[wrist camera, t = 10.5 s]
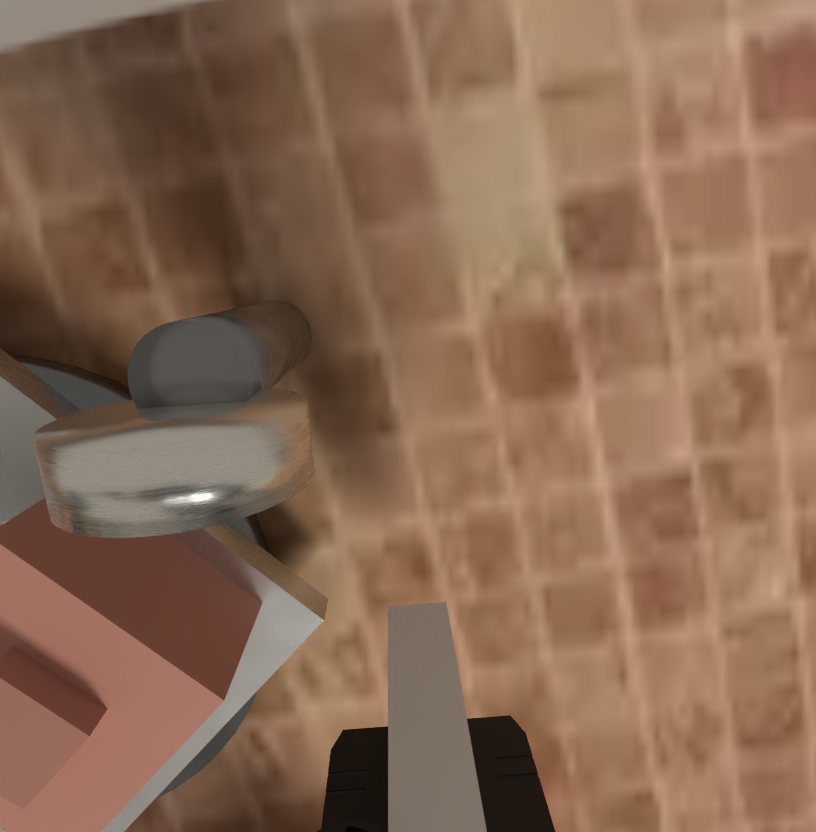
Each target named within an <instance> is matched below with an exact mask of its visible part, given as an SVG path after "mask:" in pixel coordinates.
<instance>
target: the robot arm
mask: <svg viewBox="0 0 816 832" xmlns="http://www.w3.org/2000/svg"><path fill="white" fill-rule="evenodd" d="M317 832H555V829H554V826H553V823H552V819H551V816H550V813H549V809H548V806H547V803H546V799H545V796H544V793H543V789H542V786H541V783H540V779H539V777H538V773H537V769H536V766H535V763H534V759H533V758H532V753H531V749H530V746H529V743H528V739H527V736H526V733H525V732H524V731H523V730H522V729H521V727H520V726H519V725H518V724H517V723H516V722H515V720H514V719H513V718H512V717H511V716H498V717H485V718H472V719H467V717H466V711H465V706H464V700H463V694H462V689H461V683H460V677H459V672H458V666H457V661H456V655H455V649H454V644H453V638H452V632H451V627H450V621H449V615H448V610H447V604H446V602H440V603H426V604H412V605H398V606H388V727H375V728H362V729H349V730H343V731H342V733H341V734H340V736H339V738H338V739H337V741H336V743H335V744H334V746H333V747H332V749H331V754H330V762H329V770H328V779H327V787H326V796H325V803H324V812H323V820H322V828H321V829H320V830H319V831H317Z"/></svg>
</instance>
